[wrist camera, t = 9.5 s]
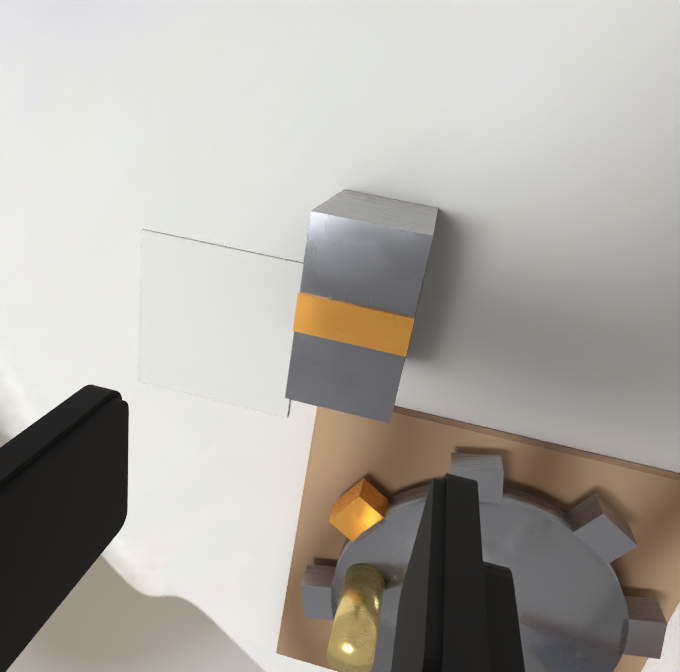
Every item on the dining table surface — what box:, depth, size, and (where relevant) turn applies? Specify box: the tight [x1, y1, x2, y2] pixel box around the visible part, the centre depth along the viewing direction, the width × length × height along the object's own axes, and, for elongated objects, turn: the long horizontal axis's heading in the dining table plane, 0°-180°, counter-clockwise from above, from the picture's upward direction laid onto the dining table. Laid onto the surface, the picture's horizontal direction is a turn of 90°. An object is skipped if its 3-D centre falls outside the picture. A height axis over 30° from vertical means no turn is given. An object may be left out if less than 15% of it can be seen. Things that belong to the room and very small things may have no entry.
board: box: [276, 406, 680, 672], centre depth 29 cm, size 19×18×1 cm
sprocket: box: [301, 453, 667, 672], centre depth 26 cm, size 17×17×6 cm
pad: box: [138, 229, 304, 418], centre depth 27 cm, size 8×8×1 cm
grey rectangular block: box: [285, 190, 438, 423], centre depth 22 cm, size 4×7×6 cm, turn 171°
